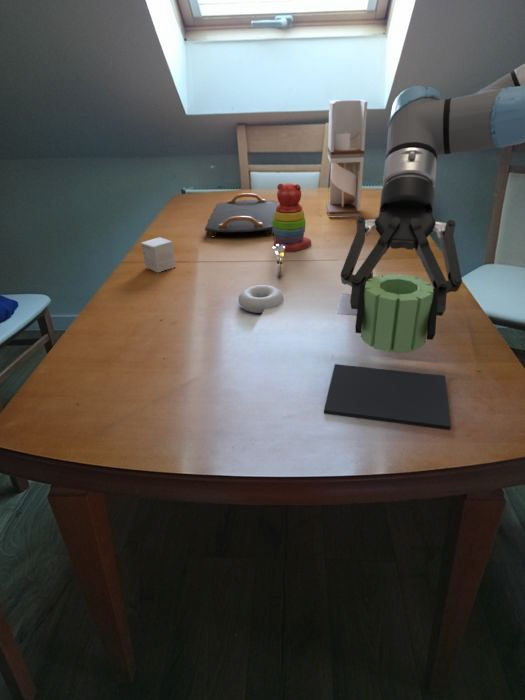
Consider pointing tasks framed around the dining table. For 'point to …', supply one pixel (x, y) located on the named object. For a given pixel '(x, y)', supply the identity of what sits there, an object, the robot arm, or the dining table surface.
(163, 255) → the product box
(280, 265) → the ring
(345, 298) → the stacking stand
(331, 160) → the spiral ramp tower
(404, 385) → the rubber mat
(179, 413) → the dining table surface
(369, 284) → the sage ring
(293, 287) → the dining table surface
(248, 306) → the donut
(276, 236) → the stacking bear
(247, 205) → the serving tray
